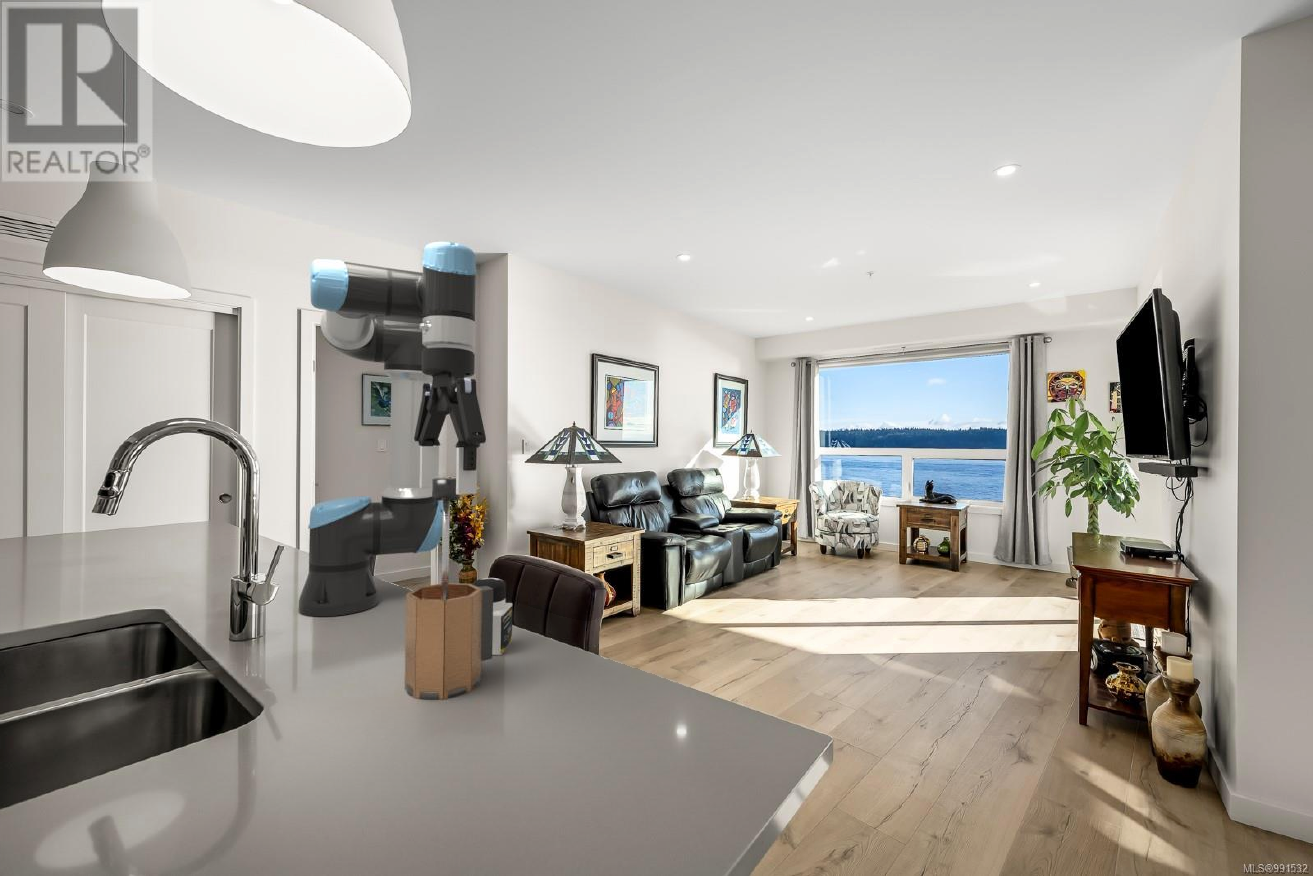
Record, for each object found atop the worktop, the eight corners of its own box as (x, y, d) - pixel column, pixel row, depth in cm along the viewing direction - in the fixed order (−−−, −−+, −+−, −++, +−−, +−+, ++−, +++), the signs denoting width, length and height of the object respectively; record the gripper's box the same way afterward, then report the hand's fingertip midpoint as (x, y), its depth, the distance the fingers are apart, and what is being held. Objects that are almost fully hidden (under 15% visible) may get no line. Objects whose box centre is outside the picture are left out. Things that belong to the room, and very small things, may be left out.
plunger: (409, 622, 90) (411, 478, 89) (458, 612, 95) (460, 476, 95) (428, 635, 84) (431, 481, 84) (479, 624, 89) (481, 479, 89)
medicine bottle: (501, 656, 101) (502, 585, 101) (459, 655, 101) (461, 584, 101) (512, 641, 108) (513, 576, 108) (473, 640, 108) (474, 575, 108)
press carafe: (395, 682, 90) (397, 590, 90) (473, 662, 98) (475, 577, 98) (421, 706, 82) (423, 605, 82) (504, 682, 90) (505, 590, 90)
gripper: (394, 354, 96) (392, 485, 96) (460, 336, 77) (457, 498, 77) (439, 359, 101) (438, 484, 101) (512, 342, 82) (509, 495, 82)
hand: (446, 490), depth 89 cm, fingers open, 13 cm apart
